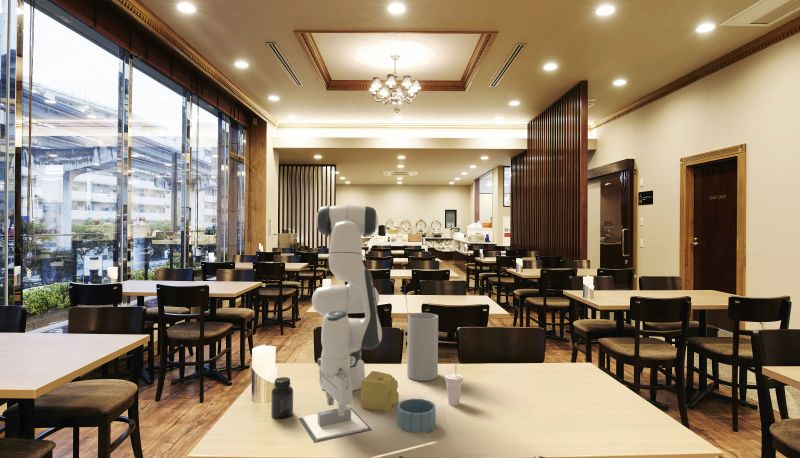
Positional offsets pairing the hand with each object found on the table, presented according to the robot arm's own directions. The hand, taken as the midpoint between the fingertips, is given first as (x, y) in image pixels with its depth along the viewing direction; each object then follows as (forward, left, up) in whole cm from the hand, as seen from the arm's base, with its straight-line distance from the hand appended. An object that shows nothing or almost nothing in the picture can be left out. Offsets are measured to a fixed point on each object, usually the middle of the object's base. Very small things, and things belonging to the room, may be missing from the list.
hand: (335, 409), depth 140 cm
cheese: (-9, +19, -6) cm, 22 cm away
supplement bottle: (-15, -13, -6) cm, 20 cm away
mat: (-1, 0, -5) cm, 5 cm away
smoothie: (+1, +43, -5) cm, 43 cm away
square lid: (-1, 0, -5) cm, 5 cm away
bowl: (+10, +23, -5) cm, 26 cm away
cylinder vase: (-28, +47, -6) cm, 55 cm away
